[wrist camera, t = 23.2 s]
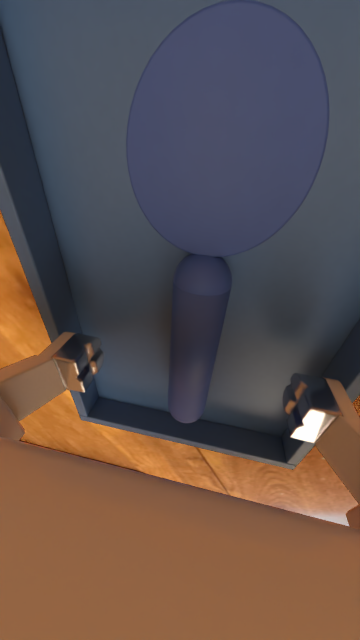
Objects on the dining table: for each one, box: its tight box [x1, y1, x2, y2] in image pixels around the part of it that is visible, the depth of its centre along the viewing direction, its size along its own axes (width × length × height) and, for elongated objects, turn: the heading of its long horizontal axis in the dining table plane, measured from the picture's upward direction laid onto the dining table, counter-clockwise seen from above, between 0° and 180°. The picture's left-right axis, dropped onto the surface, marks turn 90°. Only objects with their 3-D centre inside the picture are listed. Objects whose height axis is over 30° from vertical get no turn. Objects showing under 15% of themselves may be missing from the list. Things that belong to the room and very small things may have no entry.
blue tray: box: [0, 0, 360, 470], centre depth 8 cm, size 18×13×2 cm
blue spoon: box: [126, 0, 330, 423], centre depth 8 cm, size 14×5×2 cm, turn 177°
